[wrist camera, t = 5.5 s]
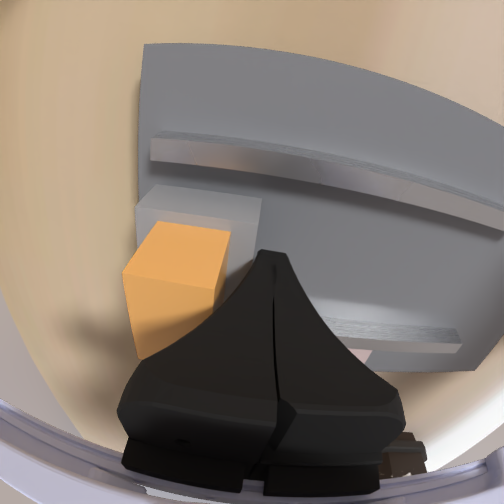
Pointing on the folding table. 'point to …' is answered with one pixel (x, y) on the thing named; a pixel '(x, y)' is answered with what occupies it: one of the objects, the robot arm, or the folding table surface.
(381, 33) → the folding table surface
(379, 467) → the wooden barrel
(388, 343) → the board
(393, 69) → the folding table surface
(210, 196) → the handle
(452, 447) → the folding table surface
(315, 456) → the robot arm
